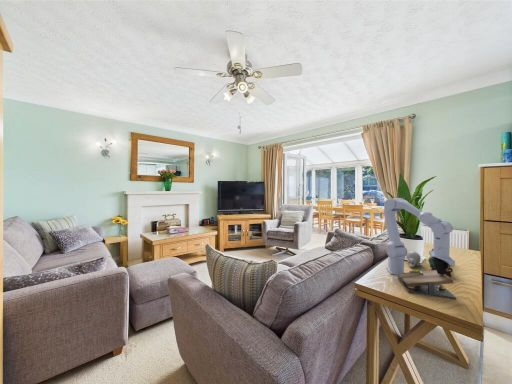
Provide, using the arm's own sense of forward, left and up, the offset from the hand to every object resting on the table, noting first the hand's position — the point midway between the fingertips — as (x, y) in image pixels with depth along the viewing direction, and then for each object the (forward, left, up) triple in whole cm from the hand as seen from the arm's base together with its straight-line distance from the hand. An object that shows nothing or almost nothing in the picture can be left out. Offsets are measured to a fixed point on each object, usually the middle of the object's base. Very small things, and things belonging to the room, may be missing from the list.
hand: (440, 274), depth 98 cm
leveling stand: (0, -7, -8) cm, 10 cm away
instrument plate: (0, -7, -4) cm, 7 cm away
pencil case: (-39, +16, -8) cm, 43 cm away
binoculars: (-23, +10, -8) cm, 27 cm away
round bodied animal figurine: (-33, 0, -8) cm, 34 cm away
